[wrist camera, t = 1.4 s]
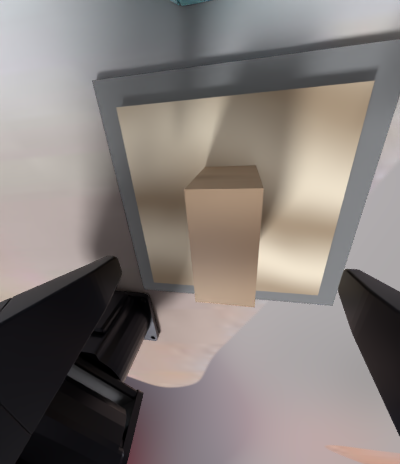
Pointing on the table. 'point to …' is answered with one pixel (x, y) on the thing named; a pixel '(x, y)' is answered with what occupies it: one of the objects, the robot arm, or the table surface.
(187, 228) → the cover board
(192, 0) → the bowl
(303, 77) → the mat
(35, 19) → the table surface
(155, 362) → the table surface
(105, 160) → the table surface
